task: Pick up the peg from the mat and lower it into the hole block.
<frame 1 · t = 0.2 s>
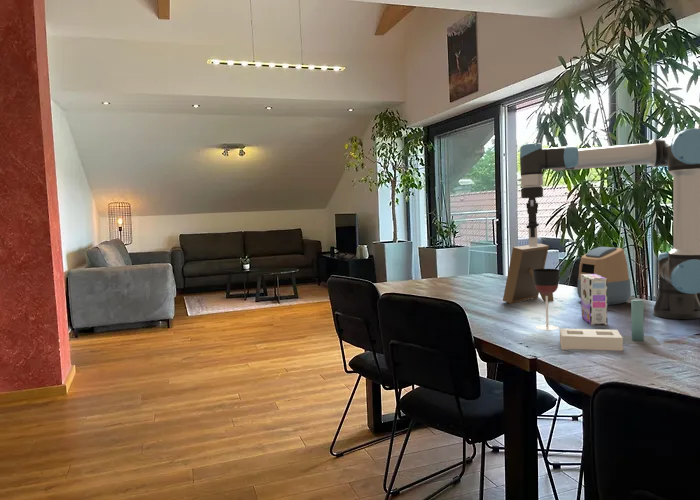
hand: (533, 245, 191), 28 cm above the table, fingers open, 13 cm apart
tan and grey appliance: (603, 302, 222), on the table
mat: (637, 341, 157), on the table
candy box: (594, 321, 187), on the table
photo frame: (531, 301, 232), on the table
peg: (637, 339, 157), resting on mat
wineglass: (547, 328, 180), on the table
hole block: (589, 346, 154), on the table
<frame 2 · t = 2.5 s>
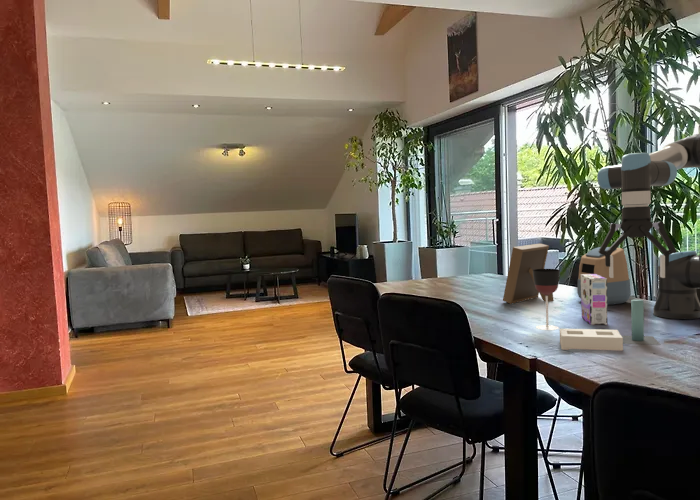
hand: (636, 277, 156), 19 cm above the table, fingers open, 13 cm apart
nothing on the table moved.
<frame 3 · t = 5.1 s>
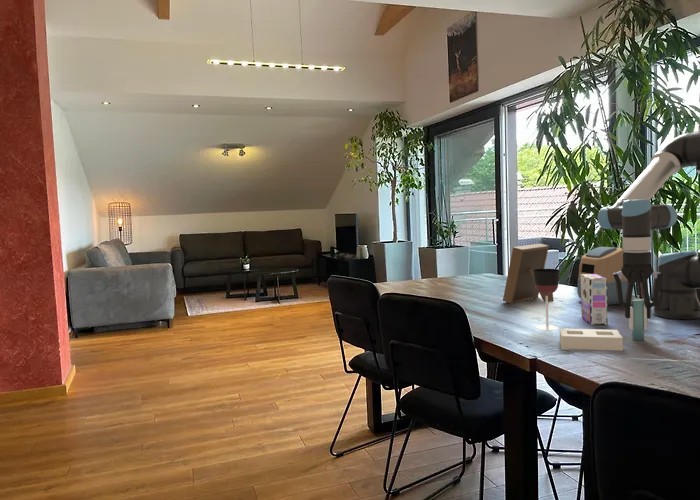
hand: (637, 328, 157), 4 cm above the table, fingers closed on peg, 3 cm apart
peg: (638, 339, 157), resting on mat, touching gripper
everything else where it was.
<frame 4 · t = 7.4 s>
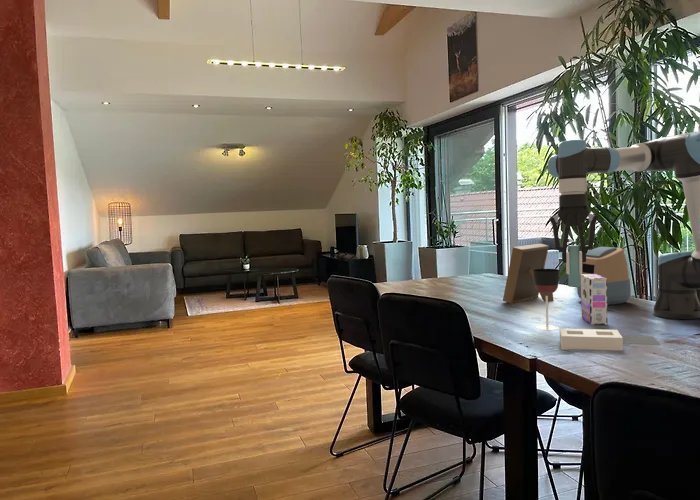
hand: (574, 273, 154), 22 cm above the table, fingers closed on peg, 3 cm apart
peg: (574, 286, 154), point 18 cm above the table, touching gripper
everything else where it was.
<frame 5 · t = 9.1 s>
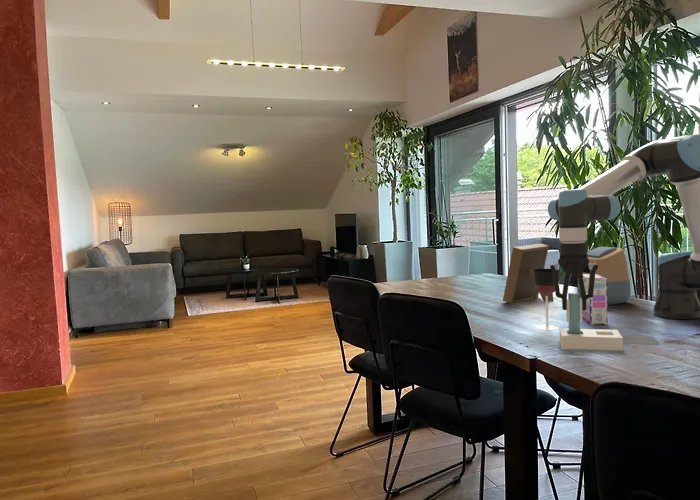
hand: (574, 320, 155), 8 cm above the table, fingers closed on peg, 3 cm apart
peg: (574, 333, 155), point 4 cm above the table, touching gripper
everything else where it was.
when the fingers open (5 cm above the table, at t = 10.2 s): peg drops 1 cm, resting in hole block.
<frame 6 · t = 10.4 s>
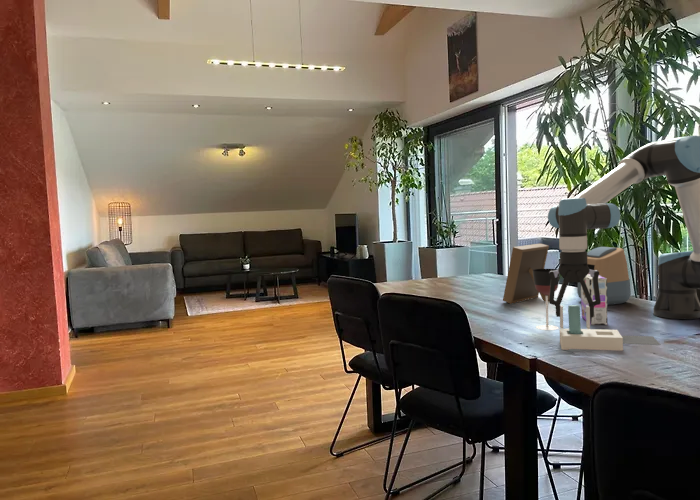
hand: (574, 327, 155), 5 cm above the table, fingers open, 7 cm apart
peg: (575, 345, 155), resting in hole block
everything else where it was.
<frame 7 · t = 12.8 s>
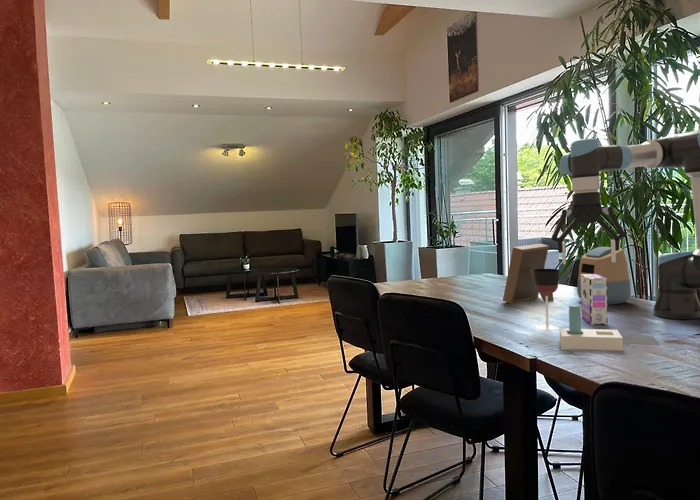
hand: (588, 262, 157), 24 cm above the table, fingers open, 13 cm apart
nothing on the table moved.
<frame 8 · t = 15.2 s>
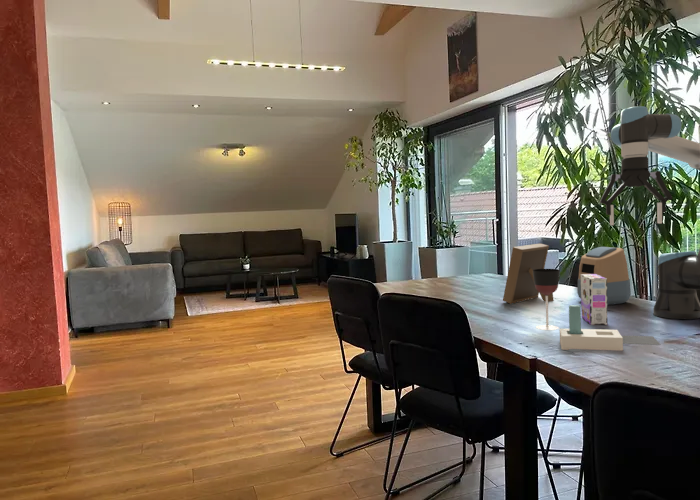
hand: (635, 224, 166), 35 cm above the table, fingers open, 13 cm apart
nothing on the table moved.
at the end: peg 0.1 cm from the target spot on the hole block, point 0.0 cm above the hole block's base; peg tilted 0°; the gripper is holding nothing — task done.
